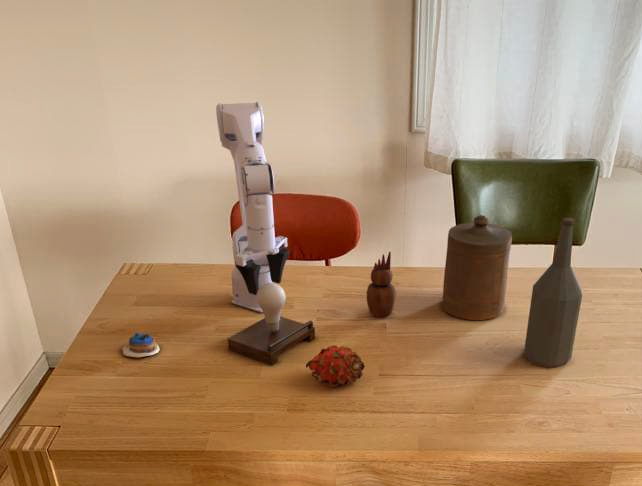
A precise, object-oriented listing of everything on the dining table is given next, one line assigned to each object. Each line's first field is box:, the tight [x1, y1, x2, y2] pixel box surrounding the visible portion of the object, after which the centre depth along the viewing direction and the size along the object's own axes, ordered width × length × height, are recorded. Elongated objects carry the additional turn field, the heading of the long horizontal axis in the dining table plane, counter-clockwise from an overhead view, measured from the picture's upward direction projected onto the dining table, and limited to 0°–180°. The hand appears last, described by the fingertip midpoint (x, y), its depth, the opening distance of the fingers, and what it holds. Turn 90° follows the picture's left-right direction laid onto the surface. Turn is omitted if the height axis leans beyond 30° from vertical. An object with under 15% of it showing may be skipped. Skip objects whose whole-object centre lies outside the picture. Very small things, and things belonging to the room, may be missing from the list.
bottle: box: [524, 217, 583, 368], centre depth 162 cm, size 10×10×30 cm
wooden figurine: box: [366, 251, 397, 318], centre depth 182 cm, size 7×6×15 cm
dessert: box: [121, 332, 160, 358], centre depth 169 cm, size 8×7×6 cm
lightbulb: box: [256, 282, 287, 332], centre depth 169 cm, size 6×6×11 cm
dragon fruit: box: [305, 345, 365, 388], centre depth 159 cm, size 8×8×12 cm
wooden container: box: [441, 214, 513, 321], centre depth 184 cm, size 15×15×22 cm
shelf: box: [227, 315, 316, 366], centre depth 172 cm, size 12×15×4 cm
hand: (265, 287), depth 172 cm, fingers open, 7 cm apart
